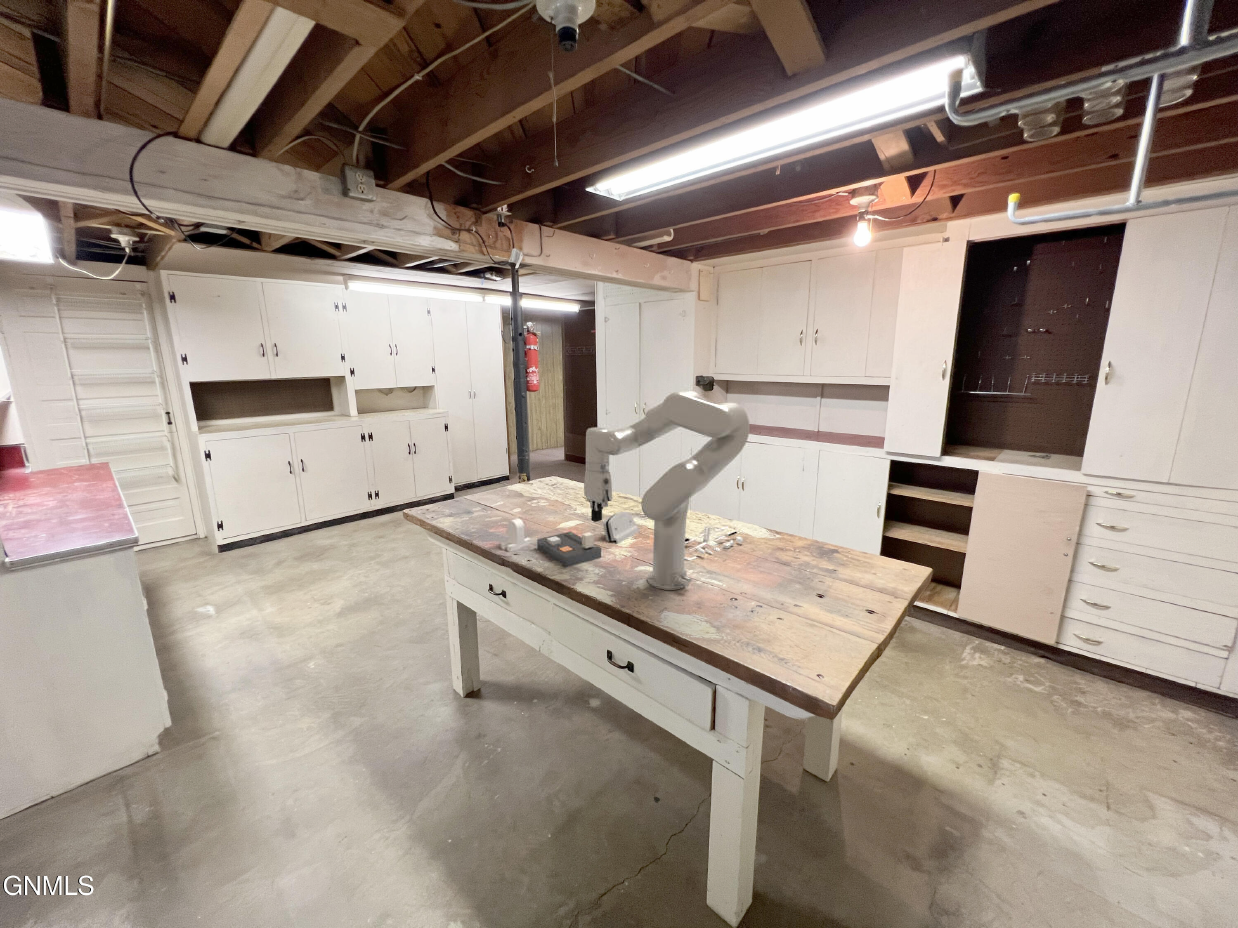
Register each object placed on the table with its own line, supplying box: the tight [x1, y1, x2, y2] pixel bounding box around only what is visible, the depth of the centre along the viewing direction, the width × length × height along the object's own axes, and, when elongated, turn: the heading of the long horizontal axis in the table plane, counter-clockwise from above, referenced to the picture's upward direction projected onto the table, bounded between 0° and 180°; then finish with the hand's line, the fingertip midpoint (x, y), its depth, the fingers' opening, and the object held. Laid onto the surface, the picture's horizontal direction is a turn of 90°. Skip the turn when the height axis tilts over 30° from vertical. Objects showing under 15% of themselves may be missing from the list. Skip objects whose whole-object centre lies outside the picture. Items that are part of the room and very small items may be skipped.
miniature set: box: [684, 525, 744, 562], centre depth 172 cm, size 6×35×12 cm
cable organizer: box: [500, 518, 531, 552], centre depth 172 cm, size 5×10×10 cm, turn 143°
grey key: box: [547, 536, 561, 546], centre depth 167 cm, size 4×4×2 cm
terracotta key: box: [559, 546, 573, 553], centre depth 161 cm, size 4×4×2 cm
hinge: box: [602, 511, 640, 545], centre depth 184 cm, size 17×5×10 cm, turn 148°
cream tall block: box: [581, 531, 595, 548], centre depth 162 cm, size 2×3×4 cm
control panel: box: [536, 531, 602, 568], centre depth 167 cm, size 20×14×4 cm
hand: (596, 520), depth 156 cm, fingers closed
